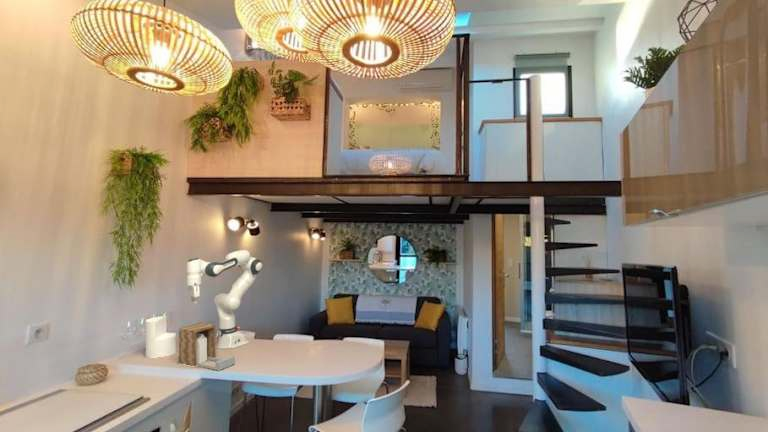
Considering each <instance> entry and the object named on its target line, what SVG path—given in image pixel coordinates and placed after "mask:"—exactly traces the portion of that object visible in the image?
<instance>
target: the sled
mask: <svg viewBox="0 0 768 432" xmlns="http://www.w3.org/2000/svg"><path fill="white" fill-rule="evenodd" d="M235 359H236V357H235V355H230V356H227V357H225V358H217V357H216V358H213V357H208V356H207V361H213V362H215V365H209V364H207V363H206V364H205V363H196V365H198V366H203V367H207V368H206V369H208V368H210V369H209V370H213V369H215V370H214V371H217V370H218V372H220V371H222V370H224V369H227V368H229V367H231V366H233V365H232V364H234V365H235V363H236V361H235ZM230 365H231V366H230ZM198 366H197V367H198ZM228 366H229V367H228ZM203 367H202V368H203ZM226 367H227V368H226ZM223 368H224V369H223ZM221 369H222V370H221Z"/></svg>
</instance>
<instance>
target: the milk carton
mask: <svg viewBox="0 0 768 432" xmlns="http://www.w3.org/2000/svg"><path fill="white" fill-rule="evenodd" d="M206 360H207V338H206V337H205V336H204V335H203V334H198V333H196V363H201V364H203V363H204V361H205V362H206ZM207 361H208V360H207ZM202 362H203V363H202Z"/></svg>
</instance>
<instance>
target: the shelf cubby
mask: <svg viewBox="0 0 768 432" xmlns="http://www.w3.org/2000/svg"><path fill="white" fill-rule="evenodd" d="M196 333H198V334H203V335H204V336H205V337H206V338H207V356H208V357H213V358H217V357H216V324H213V323H205V322H198V323H195V324H194V323H193V324H191V325H188V326H185V327H184V326H183V327H181V328H179V329H178V337H179V338H178V341H179V342H178V344H179V345H178V350H179V351H178V357H179V359H178V360H179V361H178V362H179V363H181V364H186V365H190V366H196ZM196 367H197V366H196Z"/></svg>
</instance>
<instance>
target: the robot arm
mask: <svg viewBox="0 0 768 432" xmlns="http://www.w3.org/2000/svg"><path fill="white" fill-rule="evenodd" d="M224 259H225V260H223V261H221V262H218V261H216V262H215V261H211V262H210V261H209V262H208V261H205V260H203V259H200V258H199V257H196V258H195V257H194V258H190V259H189V260H187V263H186V275H187V276H186V286H187V291H188V294H189V296H190V300H191V302H192V303H193V304H194V305H197V304H198V300H199V298H200V296H201V293H200V292H201V290H200V285H202V276H204V277H212V278H216V277H219V276H220V274H222V272H224V271H227V270H230V269H231V268H235V267H238V268H240V269H243V270H244V271H243V273H242V274H241V275H240V276H239V277H238V278H237V279H236V281H235V282H234V283H232V285H231V290H230V291H229V292H228V293H225V292H224V293H223V292H222V293H219V294H216V296H215V297H214V299H213V303H214V305H215V307H216V310H217V313H218V321H219V322H218V323H219V326H218V327H219V328H218V343H217V346H216V348H217V349H219V350H221V349H223V350H227V349H231V350H232V349H235V348H238V347H241V346H244V345H247V344H249V342H250V341H249V340H248V339H247V338H246V335H245V334H244V333H243V332H241V331H239V330H240V329H241V327H240V326H237V325H236V315H235V313H234V310H237V309H238V308H239V307H241V306H240V305H241V301H242V297H243V296H244V295H245V293H246V292H247V291H248V290H249V288H250V287H251V286H252V285H253V284H254V282H255V281H256V278H257V275H258V274H259V273H260V272H261V271H262V269H263V268H264V267H263V266H264V263H263V261H262V260H261V259H259V258H256V257H253V256H251V254H250V251H248V250H246V249H240V250H236V251H232V252H230V253H227V255H225V258H224Z"/></svg>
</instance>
